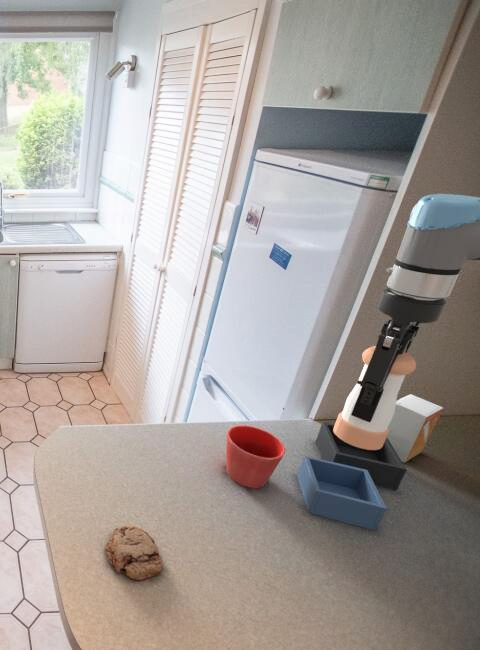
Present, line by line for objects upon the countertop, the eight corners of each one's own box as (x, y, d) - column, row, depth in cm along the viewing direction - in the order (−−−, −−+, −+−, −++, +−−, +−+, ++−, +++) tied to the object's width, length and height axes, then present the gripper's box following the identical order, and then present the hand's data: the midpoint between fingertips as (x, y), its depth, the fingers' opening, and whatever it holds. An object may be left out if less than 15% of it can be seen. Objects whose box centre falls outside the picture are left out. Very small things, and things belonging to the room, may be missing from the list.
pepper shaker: (348, 421, 89) (382, 334, 82) (391, 444, 83) (432, 351, 75) (324, 430, 86) (357, 341, 79) (367, 454, 80) (407, 360, 73)
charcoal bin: (377, 454, 107) (385, 435, 104) (396, 490, 97) (406, 469, 94) (315, 441, 111) (322, 422, 109) (328, 474, 101) (336, 453, 99)
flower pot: (225, 489, 97) (236, 453, 93) (213, 455, 107) (222, 421, 103) (281, 498, 95) (294, 462, 91) (263, 462, 105) (274, 428, 101)
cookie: (155, 534, 87) (157, 523, 86) (166, 586, 77) (169, 574, 76) (101, 527, 89) (103, 516, 87) (106, 577, 79) (108, 565, 78)
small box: (405, 463, 104) (427, 417, 99) (372, 447, 109) (392, 402, 104) (422, 453, 107) (444, 407, 102) (390, 437, 112) (409, 393, 107)
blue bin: (358, 491, 97) (367, 469, 94) (376, 531, 87) (387, 508, 85) (296, 475, 101) (304, 455, 98) (307, 512, 91) (316, 490, 89)
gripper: (402, 274, 81) (360, 383, 90) (366, 300, 71) (322, 420, 80) (460, 286, 76) (410, 401, 85) (430, 315, 65) (376, 443, 74)
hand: (367, 410), depth 82 cm, fingers closed on pepper shaker, 7 cm apart
